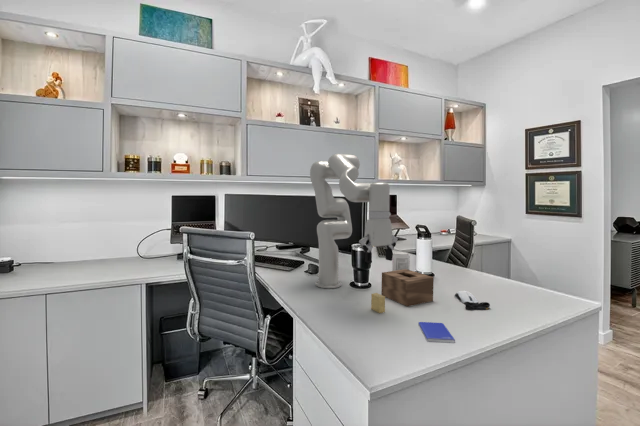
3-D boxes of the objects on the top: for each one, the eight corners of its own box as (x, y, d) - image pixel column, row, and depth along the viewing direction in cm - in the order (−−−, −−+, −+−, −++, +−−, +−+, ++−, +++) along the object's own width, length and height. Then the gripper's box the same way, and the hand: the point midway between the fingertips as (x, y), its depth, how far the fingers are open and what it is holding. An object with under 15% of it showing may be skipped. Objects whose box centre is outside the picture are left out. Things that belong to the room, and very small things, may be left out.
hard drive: (455, 339, 94) (443, 322, 106) (427, 337, 95) (418, 321, 107) (455, 344, 94) (443, 327, 106) (426, 343, 95) (418, 326, 107)
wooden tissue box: (381, 295, 138) (381, 272, 138) (405, 290, 145) (406, 269, 144) (407, 306, 124) (408, 281, 124) (433, 301, 131) (433, 277, 130)
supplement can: (388, 282, 158) (389, 252, 157) (398, 279, 164) (398, 250, 163) (402, 286, 152) (403, 255, 151) (412, 283, 158) (412, 253, 157)
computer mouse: (469, 296, 139) (469, 287, 139) (492, 311, 121) (492, 301, 121) (446, 296, 139) (446, 287, 139) (466, 311, 121) (467, 301, 120)
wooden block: (371, 309, 122) (371, 293, 121) (376, 308, 123) (376, 292, 122) (379, 313, 117) (379, 297, 117) (384, 312, 118) (385, 296, 118)
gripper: (390, 214, 125) (390, 257, 126) (354, 216, 117) (353, 261, 118) (403, 215, 119) (403, 260, 120) (366, 217, 111) (366, 265, 111)
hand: (378, 261), depth 119 cm, fingers open, 9 cm apart
